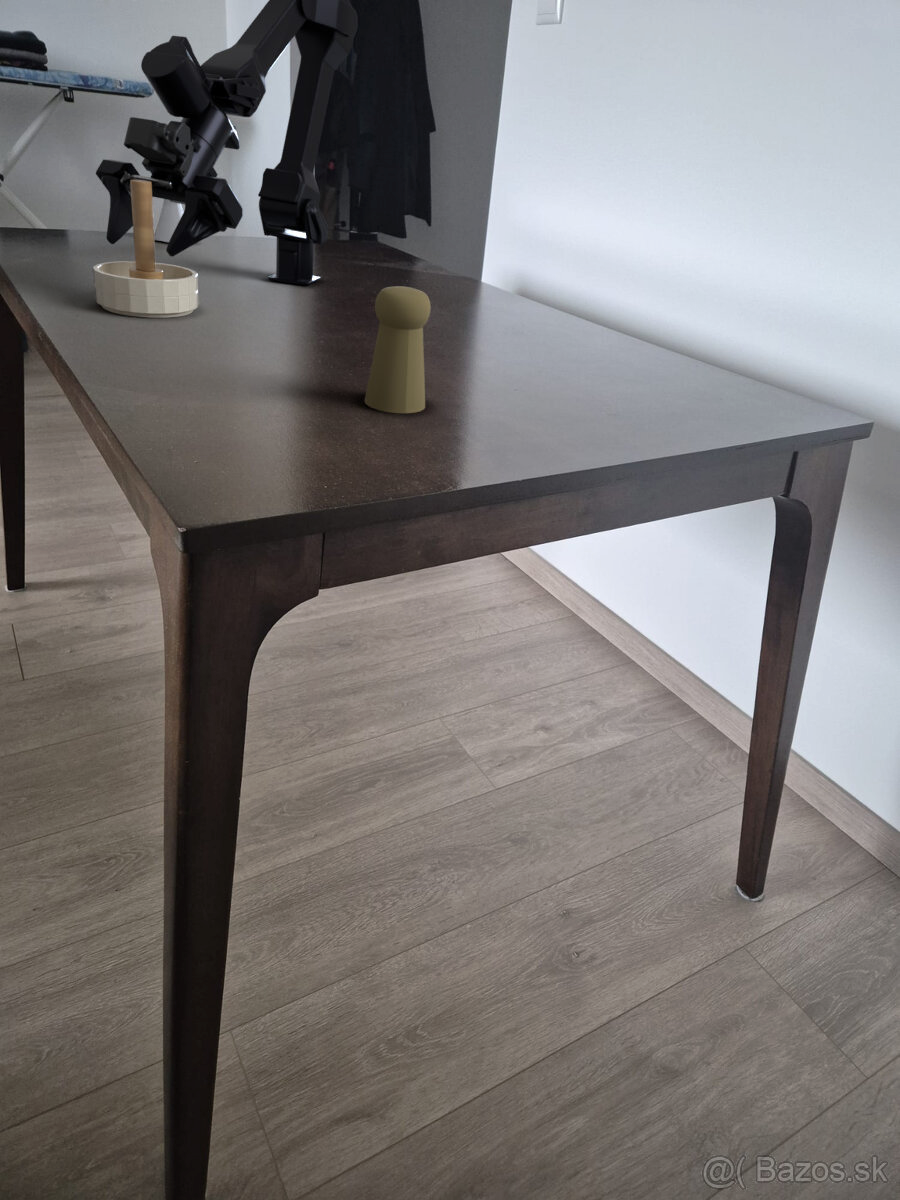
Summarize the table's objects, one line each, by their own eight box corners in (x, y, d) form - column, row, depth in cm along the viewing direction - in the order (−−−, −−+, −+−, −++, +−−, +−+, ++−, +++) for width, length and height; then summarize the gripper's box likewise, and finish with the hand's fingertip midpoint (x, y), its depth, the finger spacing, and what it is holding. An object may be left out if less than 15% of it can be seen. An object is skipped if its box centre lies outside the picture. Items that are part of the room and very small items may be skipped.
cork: (364, 392, 88) (371, 279, 83) (423, 397, 89) (434, 285, 84) (364, 410, 83) (372, 290, 78) (427, 415, 84) (439, 297, 78)
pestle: (124, 301, 109) (115, 178, 102) (146, 297, 112) (139, 178, 105) (149, 307, 108) (142, 183, 101) (171, 303, 111) (165, 183, 104)
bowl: (127, 293, 116) (125, 257, 114) (214, 306, 115) (213, 271, 113) (76, 308, 105) (73, 269, 103) (171, 323, 104) (169, 284, 102)
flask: (188, 246, 155) (186, 184, 150) (147, 241, 154) (144, 179, 149) (199, 241, 161) (197, 181, 156) (160, 236, 161) (157, 176, 156)
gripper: (100, 84, 105) (38, 186, 101) (227, 101, 99) (165, 210, 95) (149, 157, 115) (94, 252, 112) (267, 177, 109) (213, 278, 106)
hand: (138, 247), depth 106 cm, fingers open, 9 cm apart
